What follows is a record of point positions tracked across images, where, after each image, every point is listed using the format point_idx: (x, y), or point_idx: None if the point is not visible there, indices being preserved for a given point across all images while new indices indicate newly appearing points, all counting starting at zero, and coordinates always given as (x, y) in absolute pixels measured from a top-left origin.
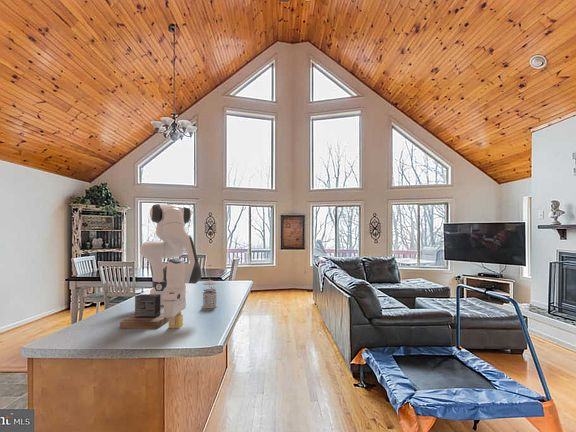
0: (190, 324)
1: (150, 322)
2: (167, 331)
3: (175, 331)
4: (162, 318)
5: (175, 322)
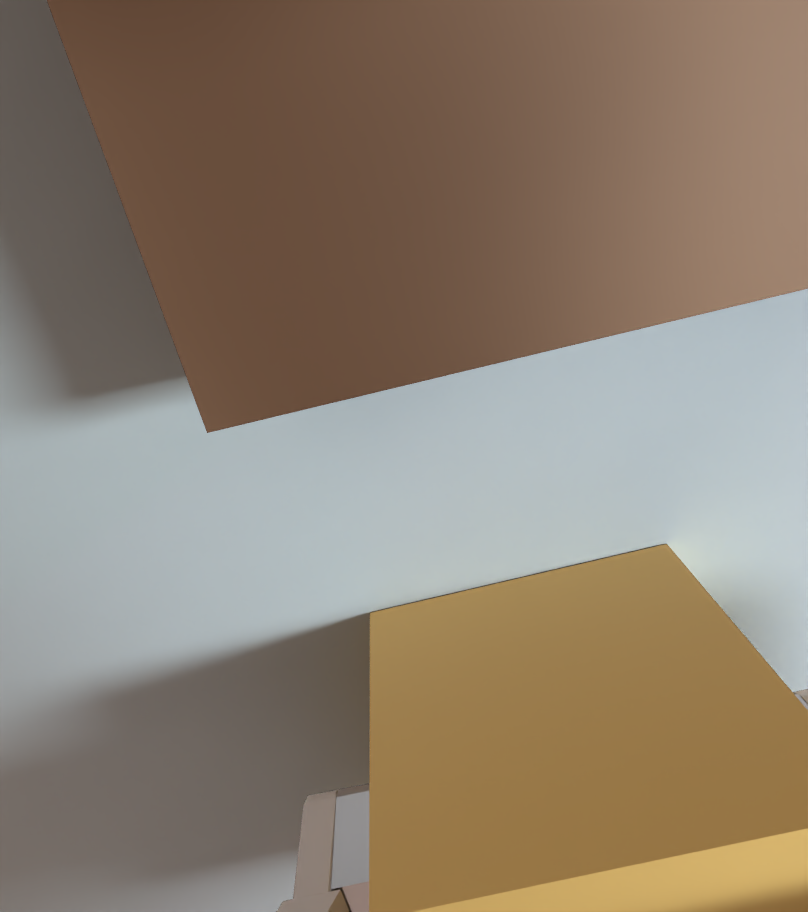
0: None
1: (69, 2)
2: (87, 751)
3: (160, 884)
4: (802, 249)
5: None
